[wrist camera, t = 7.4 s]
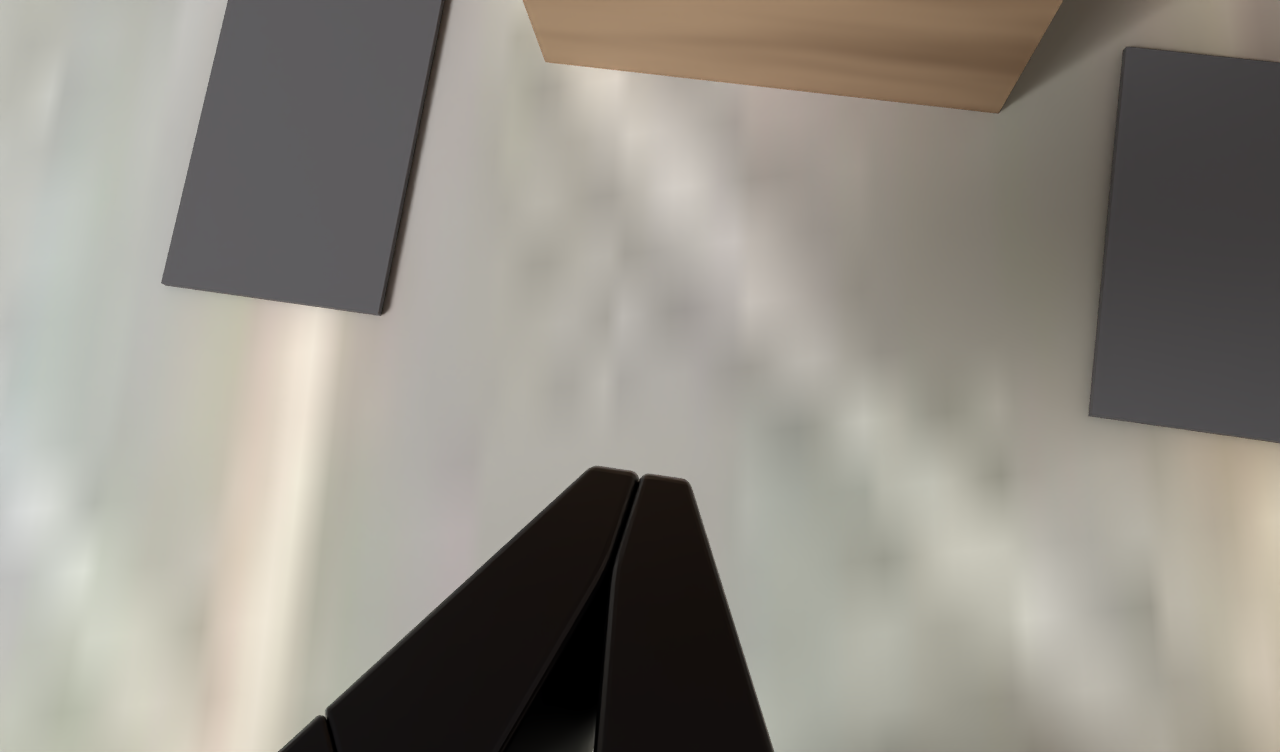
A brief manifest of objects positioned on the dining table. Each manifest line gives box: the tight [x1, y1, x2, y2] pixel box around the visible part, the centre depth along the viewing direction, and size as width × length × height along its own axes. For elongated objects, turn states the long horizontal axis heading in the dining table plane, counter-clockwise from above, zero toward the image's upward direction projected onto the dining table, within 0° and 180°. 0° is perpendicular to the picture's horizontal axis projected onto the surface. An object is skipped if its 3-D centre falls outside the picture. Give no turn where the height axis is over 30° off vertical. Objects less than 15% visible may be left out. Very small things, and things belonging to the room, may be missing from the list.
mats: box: [161, 0, 1280, 443], centre depth 24 cm, size 8×25×1 cm, turn 81°
